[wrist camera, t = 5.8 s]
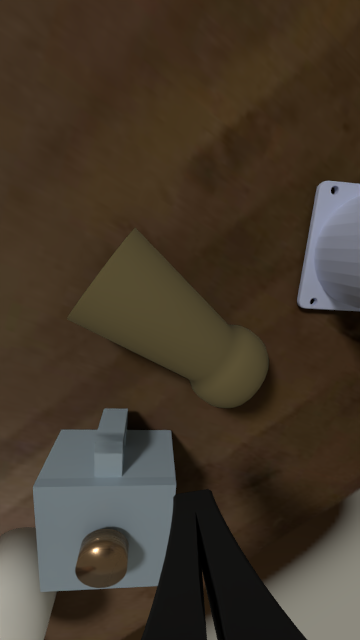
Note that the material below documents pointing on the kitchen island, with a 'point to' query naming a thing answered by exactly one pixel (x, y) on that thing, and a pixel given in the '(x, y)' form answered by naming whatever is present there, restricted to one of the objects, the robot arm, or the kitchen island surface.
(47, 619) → the white pillar candle
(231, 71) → the kitchen island surface
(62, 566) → the blue box with knob
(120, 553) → the plunger
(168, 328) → the cork
